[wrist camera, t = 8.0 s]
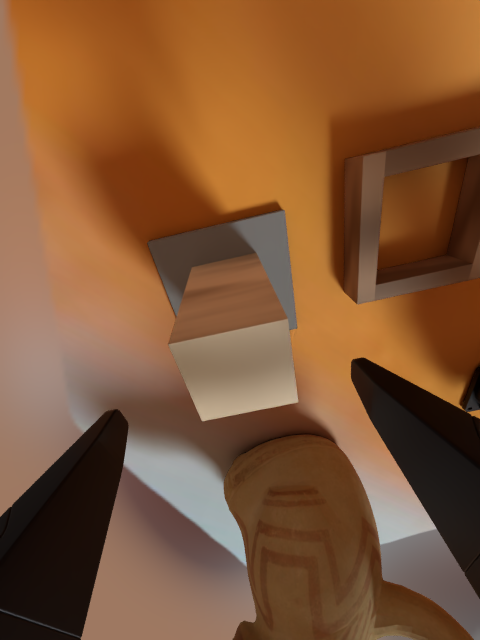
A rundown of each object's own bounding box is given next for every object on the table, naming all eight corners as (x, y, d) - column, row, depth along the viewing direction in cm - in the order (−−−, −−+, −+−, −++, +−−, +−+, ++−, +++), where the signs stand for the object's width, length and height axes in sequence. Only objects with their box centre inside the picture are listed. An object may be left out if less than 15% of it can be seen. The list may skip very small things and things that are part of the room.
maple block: (266, 309, 19) (298, 402, 11) (209, 322, 19) (202, 421, 11) (256, 252, 17) (287, 318, 9) (191, 267, 17) (167, 344, 9)
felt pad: (295, 324, 21) (297, 328, 20) (190, 346, 21) (190, 351, 20) (282, 209, 16) (284, 210, 15) (149, 240, 16) (146, 242, 16)
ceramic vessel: (191, 444, 28) (90, 1392, 6) (366, 399, 26) (1089, 1500, 4) (236, 509, 36) (260, 1003, 15) (370, 479, 34) (623, 987, 13)
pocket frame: (459, 266, 19) (485, 276, 17) (343, 291, 19) (357, 304, 17) (496, 122, 14) (538, 114, 13) (344, 159, 15) (363, 156, 13)
